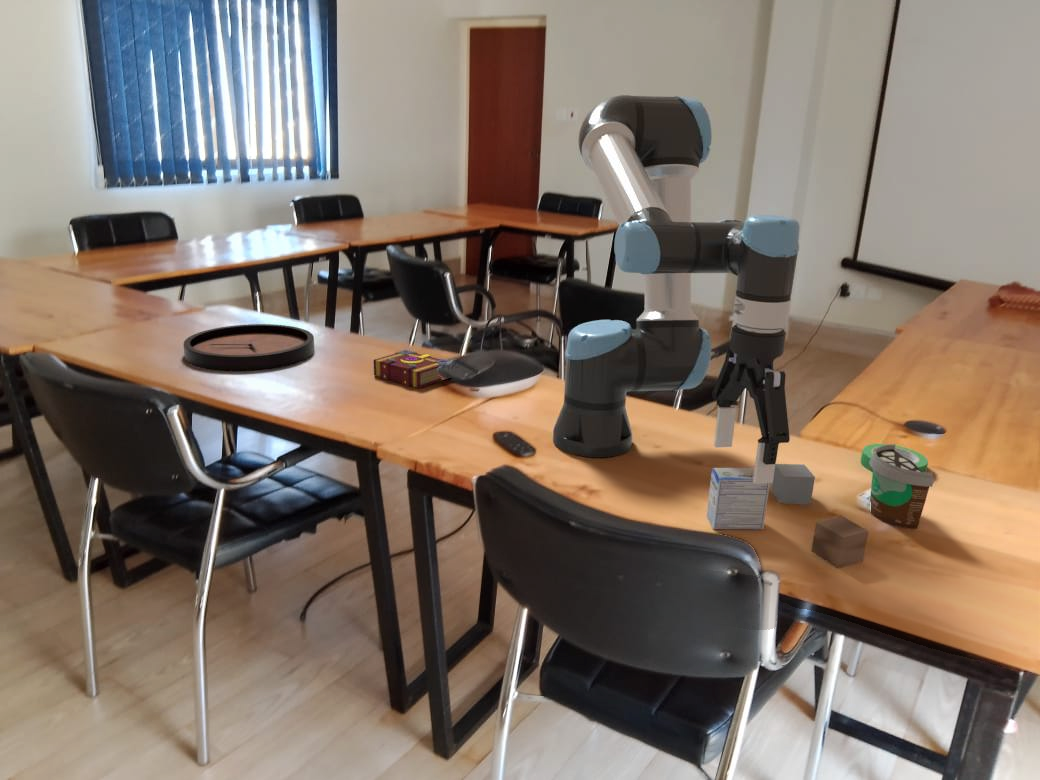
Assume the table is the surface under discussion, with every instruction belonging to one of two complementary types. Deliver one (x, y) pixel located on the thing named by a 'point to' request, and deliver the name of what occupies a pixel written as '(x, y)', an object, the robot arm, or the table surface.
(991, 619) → the table surface
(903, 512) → the food container
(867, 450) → the tape roll
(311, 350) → the wall clock
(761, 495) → the medicine box
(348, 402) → the table surface
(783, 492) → the slate grey block
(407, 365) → the decorative book
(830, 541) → the walnut block
